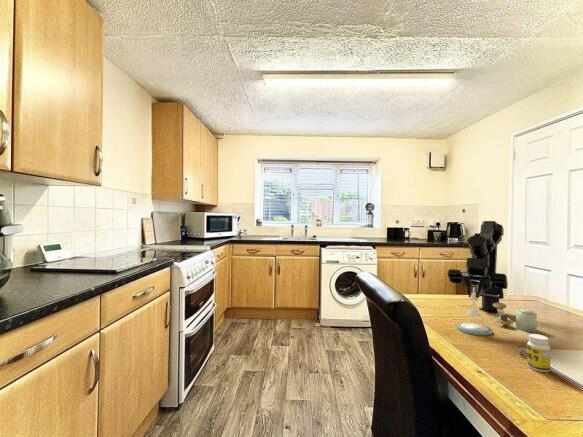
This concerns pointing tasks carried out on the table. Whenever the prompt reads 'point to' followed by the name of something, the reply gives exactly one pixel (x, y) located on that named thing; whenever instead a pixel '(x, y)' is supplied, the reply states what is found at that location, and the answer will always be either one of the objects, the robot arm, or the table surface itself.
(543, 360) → the supplement bottle
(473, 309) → the chess piece
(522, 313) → the sage cup
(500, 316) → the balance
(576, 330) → the table surface
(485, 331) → the dish
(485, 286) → the robot arm
